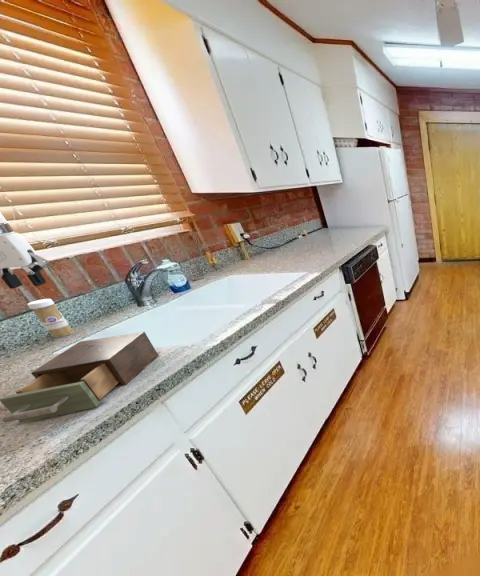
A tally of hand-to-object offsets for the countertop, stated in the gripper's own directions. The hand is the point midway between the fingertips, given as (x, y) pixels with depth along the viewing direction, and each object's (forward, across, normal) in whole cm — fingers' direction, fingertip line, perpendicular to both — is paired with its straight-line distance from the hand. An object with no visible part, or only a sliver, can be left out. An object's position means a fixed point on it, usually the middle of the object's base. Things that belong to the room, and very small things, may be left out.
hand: (28, 285), depth 95 cm
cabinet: (+19, +30, -36) cm, 51 cm away
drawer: (+18, +30, -48) cm, 60 cm away
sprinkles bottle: (+19, 0, 0) cm, 19 cm away
